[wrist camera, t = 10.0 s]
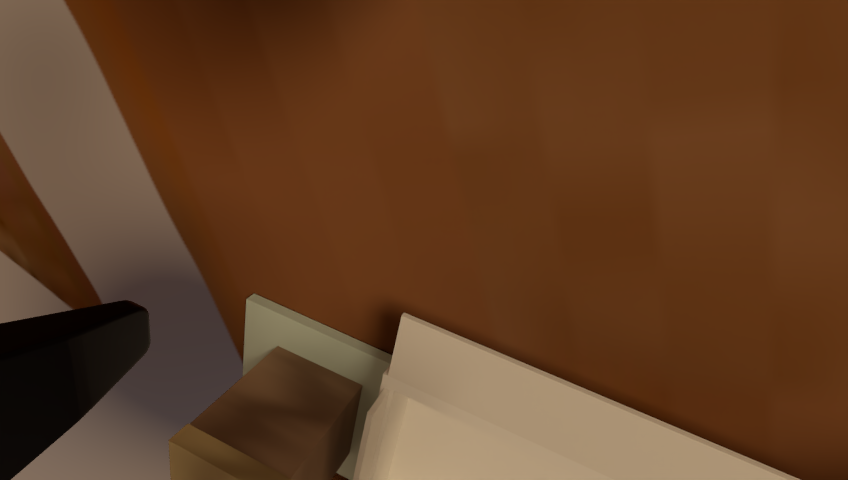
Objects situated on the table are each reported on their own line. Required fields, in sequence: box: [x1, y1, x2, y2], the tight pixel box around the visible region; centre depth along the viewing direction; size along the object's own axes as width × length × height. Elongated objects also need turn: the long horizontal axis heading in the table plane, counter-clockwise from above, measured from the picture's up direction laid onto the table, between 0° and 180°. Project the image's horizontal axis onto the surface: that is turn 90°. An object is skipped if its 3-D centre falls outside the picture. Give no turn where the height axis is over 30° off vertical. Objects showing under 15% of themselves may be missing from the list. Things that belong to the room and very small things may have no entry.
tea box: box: [169, 346, 362, 480], centre depth 24 cm, size 5×5×7 cm
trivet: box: [243, 294, 392, 480], centre depth 27 cm, size 9×9×1 cm
